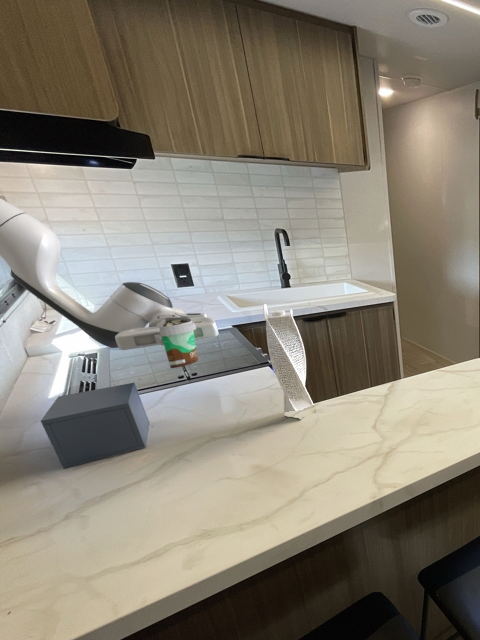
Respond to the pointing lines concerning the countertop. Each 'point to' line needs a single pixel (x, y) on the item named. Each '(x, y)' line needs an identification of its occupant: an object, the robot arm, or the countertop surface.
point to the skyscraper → (287, 358)
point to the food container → (179, 341)
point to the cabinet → (96, 424)
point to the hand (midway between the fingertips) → (169, 340)
